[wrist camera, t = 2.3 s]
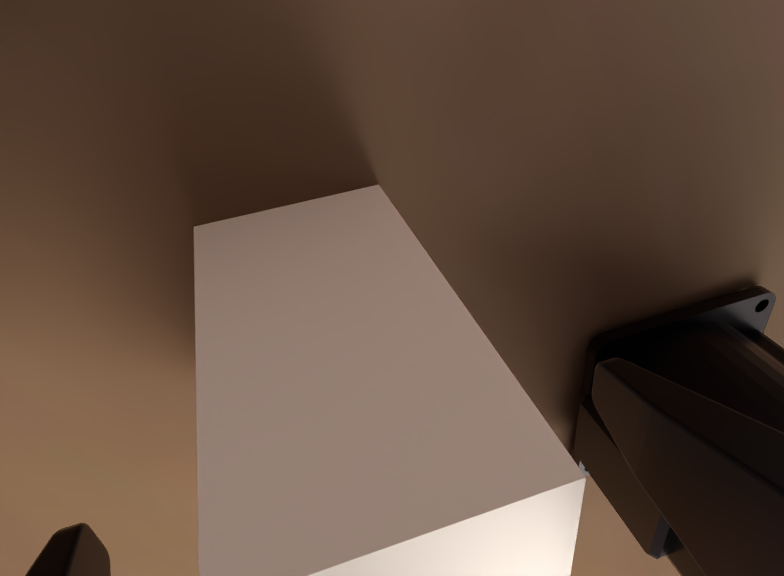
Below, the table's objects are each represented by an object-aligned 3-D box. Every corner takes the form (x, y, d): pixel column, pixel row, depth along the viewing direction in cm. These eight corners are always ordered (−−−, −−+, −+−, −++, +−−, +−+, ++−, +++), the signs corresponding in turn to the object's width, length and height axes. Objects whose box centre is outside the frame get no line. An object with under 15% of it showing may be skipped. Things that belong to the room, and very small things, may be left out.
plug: (378, 184, 12) (585, 477, 6) (405, 389, 16) (549, 704, 10) (193, 226, 11) (199, 612, 5) (266, 430, 15) (322, 801, 9)
